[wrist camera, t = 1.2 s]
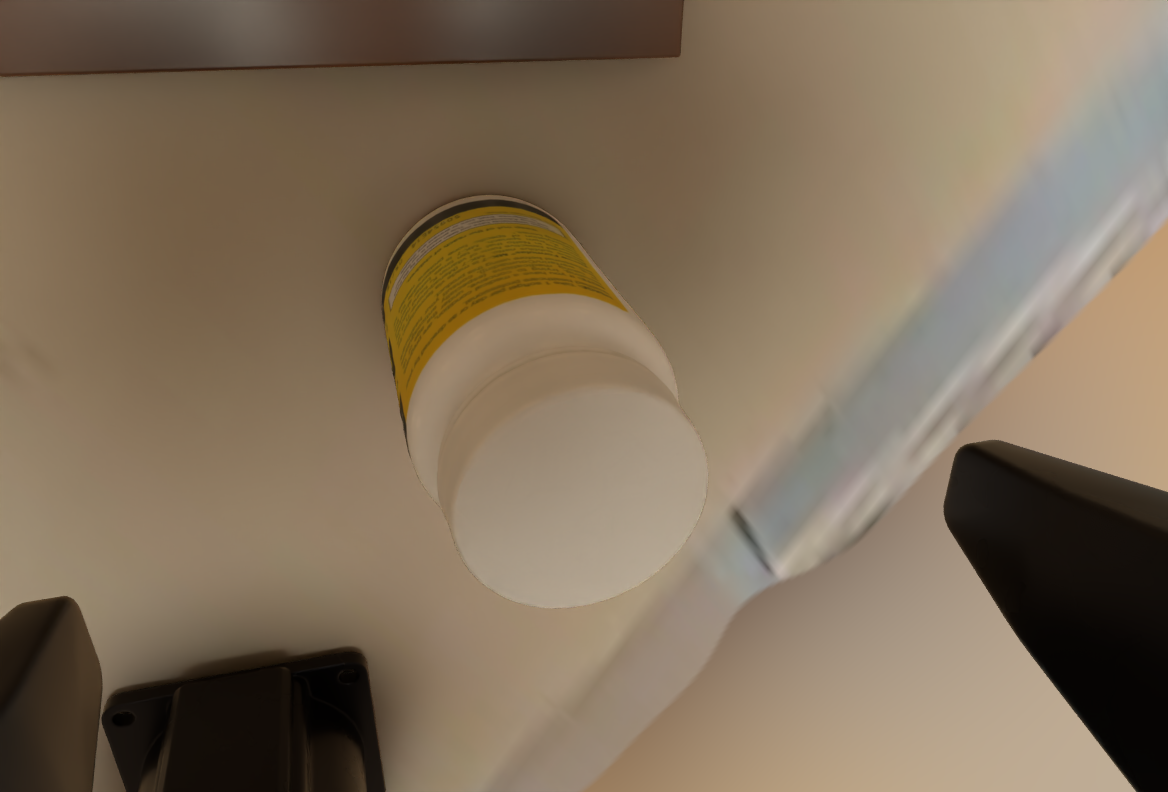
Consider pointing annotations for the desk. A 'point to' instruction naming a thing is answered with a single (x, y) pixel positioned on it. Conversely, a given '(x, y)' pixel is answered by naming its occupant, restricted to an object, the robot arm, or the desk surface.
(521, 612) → the desk surface
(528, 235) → the supplement bottle
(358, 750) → the robot arm
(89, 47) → the wooden spoon
